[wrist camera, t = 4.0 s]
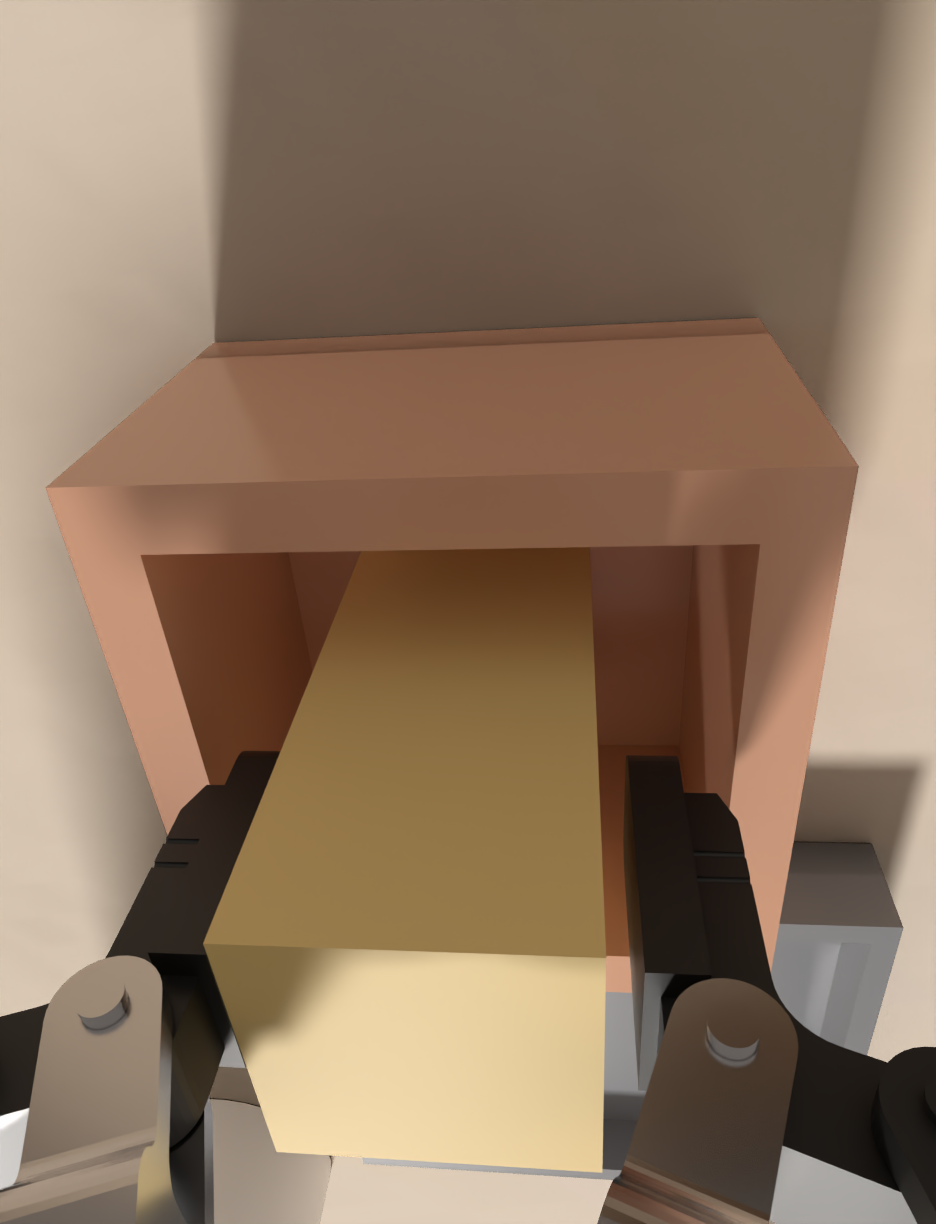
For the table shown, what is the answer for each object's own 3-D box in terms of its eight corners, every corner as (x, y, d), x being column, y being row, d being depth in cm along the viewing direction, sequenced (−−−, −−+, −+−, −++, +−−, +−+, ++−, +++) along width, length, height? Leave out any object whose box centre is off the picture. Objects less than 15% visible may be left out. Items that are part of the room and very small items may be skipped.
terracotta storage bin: (302, 746, 22) (217, 976, 17) (213, 343, 17) (45, 488, 12) (715, 750, 21) (766, 998, 16) (759, 317, 16) (858, 466, 10)
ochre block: (402, 672, 20) (276, 1152, 11) (379, 506, 17) (202, 943, 9) (587, 672, 19) (602, 1172, 11) (587, 501, 17) (605, 957, 9)
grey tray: (377, 1085, 30) (363, 1164, 28) (321, 832, 24) (298, 908, 22) (808, 1108, 29) (826, 1193, 27) (871, 843, 22) (903, 927, 20)
